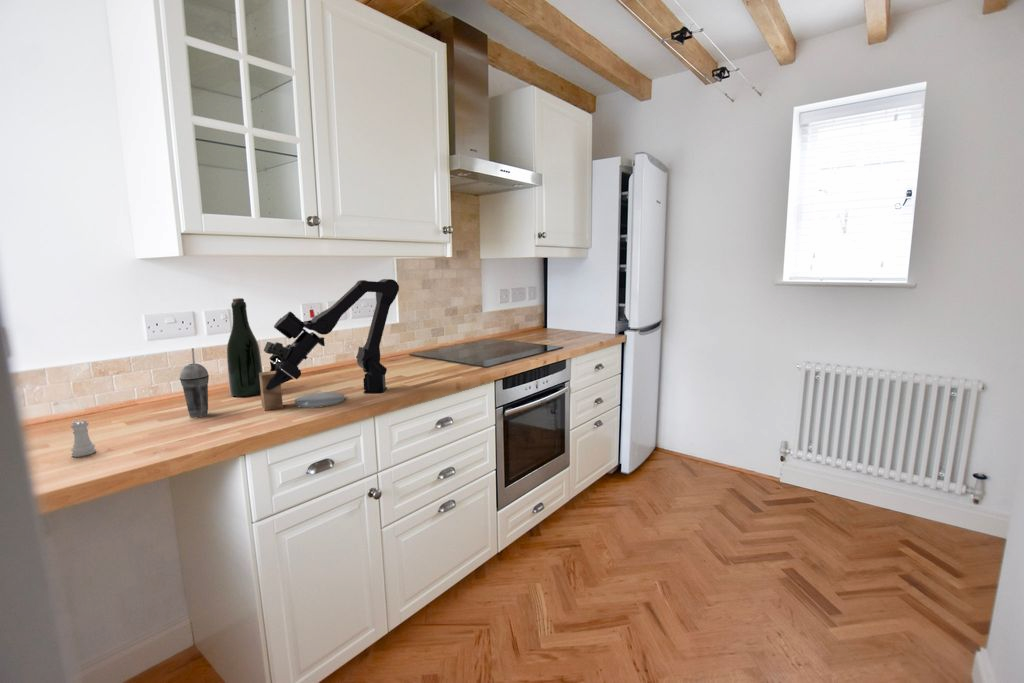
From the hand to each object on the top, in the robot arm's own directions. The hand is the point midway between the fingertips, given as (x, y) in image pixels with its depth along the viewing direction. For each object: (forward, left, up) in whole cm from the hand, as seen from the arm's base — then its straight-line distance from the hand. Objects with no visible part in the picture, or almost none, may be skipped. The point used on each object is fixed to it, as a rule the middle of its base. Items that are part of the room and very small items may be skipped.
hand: (265, 387), depth 150 cm
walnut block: (-1, -1, -7) cm, 7 cm away
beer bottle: (+17, -18, -7) cm, 26 cm away
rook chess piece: (+24, +37, -7) cm, 45 cm away
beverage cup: (+17, +7, -7) cm, 20 cm away
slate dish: (-13, -8, -7) cm, 17 cm away
